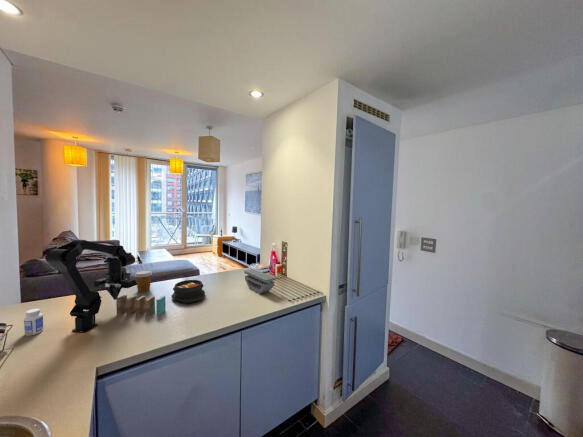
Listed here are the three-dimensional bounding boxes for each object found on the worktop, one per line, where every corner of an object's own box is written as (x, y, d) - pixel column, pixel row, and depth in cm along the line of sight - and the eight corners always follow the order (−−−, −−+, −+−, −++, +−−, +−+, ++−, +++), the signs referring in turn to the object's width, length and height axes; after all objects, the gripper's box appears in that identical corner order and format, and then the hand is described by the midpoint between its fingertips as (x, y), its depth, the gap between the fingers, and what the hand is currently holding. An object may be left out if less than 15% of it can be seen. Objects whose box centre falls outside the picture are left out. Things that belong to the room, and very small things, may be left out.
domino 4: (148, 315, 115) (148, 300, 115) (145, 315, 115) (145, 300, 115) (154, 311, 120) (154, 296, 120) (152, 311, 120) (151, 296, 120)
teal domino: (159, 315, 116) (159, 299, 116) (156, 315, 116) (156, 299, 116) (165, 310, 121) (165, 295, 121) (162, 310, 121) (162, 295, 121)
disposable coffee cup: (144, 293, 142) (143, 274, 141) (131, 292, 144) (130, 273, 143) (155, 288, 152) (155, 270, 151) (143, 287, 153) (143, 269, 153)
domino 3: (138, 315, 116) (138, 299, 115) (135, 315, 116) (135, 299, 115) (145, 310, 120) (145, 295, 120) (142, 310, 121) (142, 295, 120)
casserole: (211, 300, 135) (211, 286, 135) (176, 308, 124) (176, 293, 123) (198, 287, 155) (198, 275, 154) (167, 294, 143) (167, 280, 143)
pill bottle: (43, 327, 102) (42, 306, 102) (44, 332, 99) (43, 310, 98) (24, 332, 98) (23, 310, 98) (24, 337, 95) (23, 314, 94)
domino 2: (129, 314, 116) (129, 299, 115) (126, 314, 116) (126, 299, 115) (136, 310, 121) (136, 295, 120) (133, 310, 121) (133, 295, 120)
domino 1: (119, 314, 116) (119, 299, 115) (116, 314, 116) (116, 298, 116) (127, 309, 121) (126, 295, 120) (124, 309, 121) (124, 294, 121)
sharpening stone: (244, 286, 160) (244, 270, 159) (253, 283, 165) (253, 268, 165) (265, 297, 142) (265, 280, 141) (275, 294, 147) (275, 277, 146)
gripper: (143, 266, 125) (143, 294, 126) (110, 264, 126) (110, 292, 127) (128, 272, 114) (128, 302, 115) (91, 270, 115) (92, 301, 115)
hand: (115, 299), depth 118 cm, fingers closed
